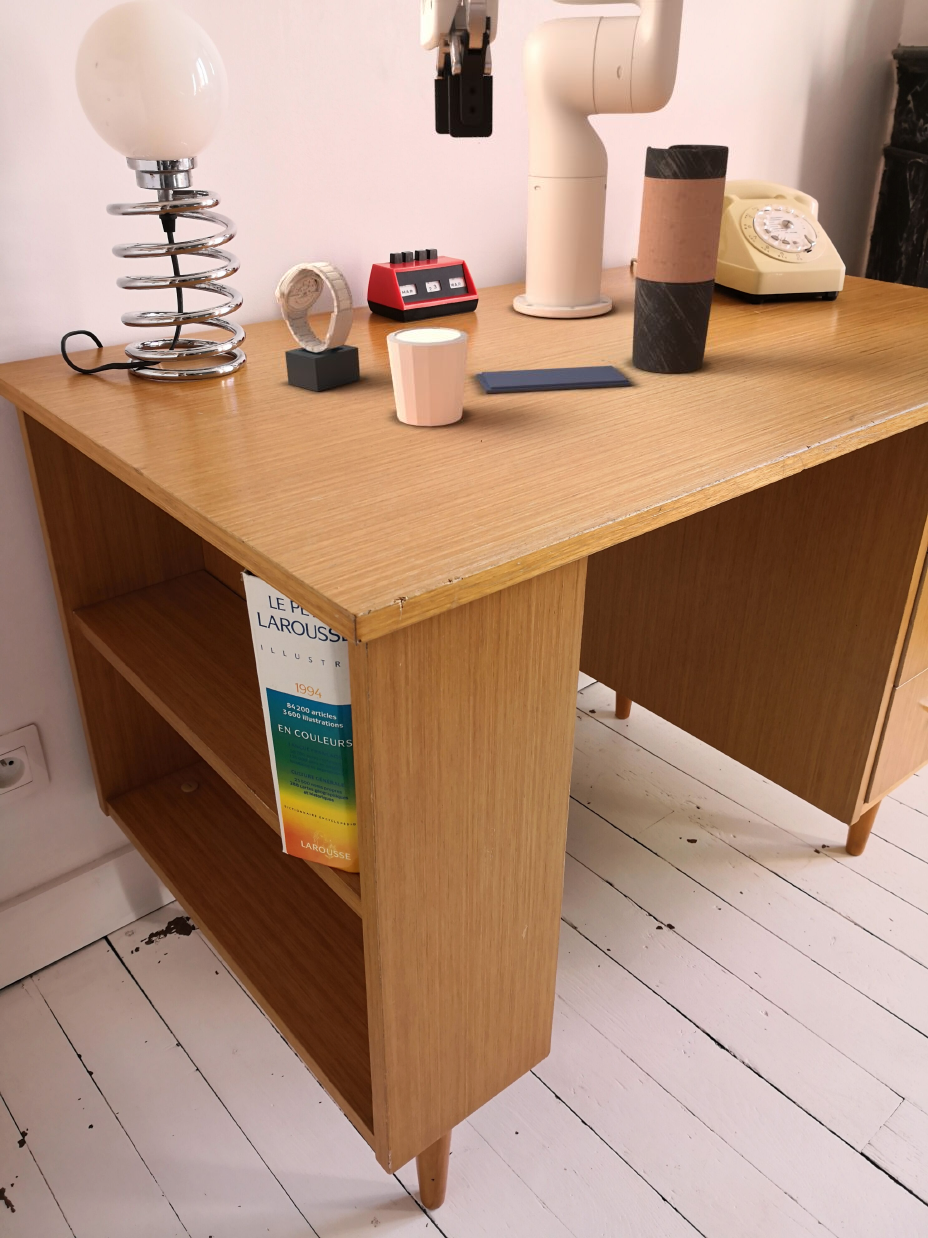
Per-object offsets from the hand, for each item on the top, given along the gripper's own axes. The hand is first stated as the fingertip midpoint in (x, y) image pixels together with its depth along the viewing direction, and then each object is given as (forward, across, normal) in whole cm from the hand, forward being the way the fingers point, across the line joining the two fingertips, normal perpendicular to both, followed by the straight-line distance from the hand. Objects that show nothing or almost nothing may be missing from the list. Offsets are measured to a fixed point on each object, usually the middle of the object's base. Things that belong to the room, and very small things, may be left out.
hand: (462, 135), depth 75 cm
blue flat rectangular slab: (+22, -7, +10) cm, 25 cm away
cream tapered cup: (+22, +2, -3) cm, 22 cm away
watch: (+22, -10, -12) cm, 27 cm away
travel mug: (+22, -11, +22) cm, 33 cm away
